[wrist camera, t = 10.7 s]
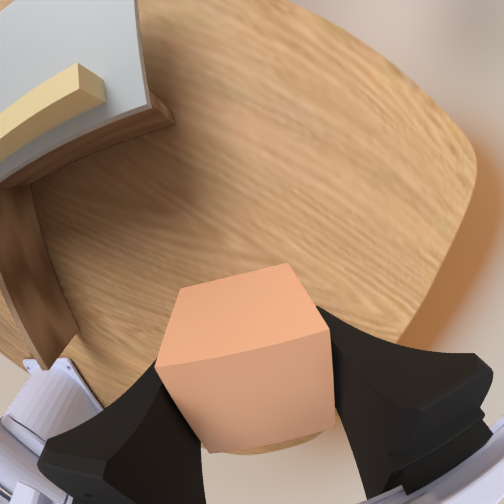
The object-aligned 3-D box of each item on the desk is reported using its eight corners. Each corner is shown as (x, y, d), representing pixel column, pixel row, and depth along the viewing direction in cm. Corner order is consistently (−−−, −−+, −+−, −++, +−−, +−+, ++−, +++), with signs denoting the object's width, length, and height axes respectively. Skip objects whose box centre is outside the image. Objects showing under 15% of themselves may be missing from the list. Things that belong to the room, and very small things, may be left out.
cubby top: (151, 108, 10) (126, 88, 7) (-26, 201, 10) (-60, 211, 7) (135, -57, 6) (123, -85, 3) (-22, 39, 6) (-46, 31, 2)
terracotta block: (302, 348, 12) (335, 426, 8) (211, 369, 12) (209, 453, 8) (287, 262, 11) (329, 328, 6) (180, 288, 11) (154, 367, 6)
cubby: (220, 303, 20) (218, 353, 14) (73, 330, 19) (42, 370, 14) (172, 113, 15) (148, 88, 10) (22, 178, 15) (-27, 186, 9)
